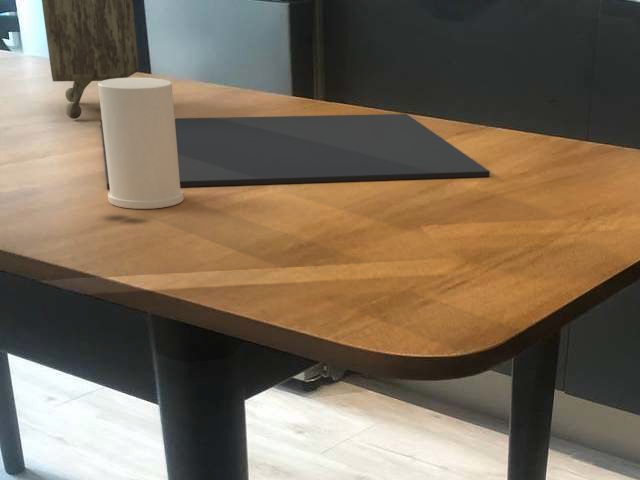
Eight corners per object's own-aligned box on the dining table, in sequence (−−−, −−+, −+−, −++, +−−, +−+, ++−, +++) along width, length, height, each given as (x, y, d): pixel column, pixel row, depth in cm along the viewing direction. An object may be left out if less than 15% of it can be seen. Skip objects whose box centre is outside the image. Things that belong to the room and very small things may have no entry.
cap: (109, 210, 86) (95, 89, 81) (107, 192, 91) (94, 77, 86) (186, 207, 87) (177, 88, 82) (180, 190, 92) (171, 76, 87)
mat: (107, 189, 91) (106, 183, 91) (100, 124, 116) (100, 119, 116) (489, 176, 100) (490, 171, 99) (406, 118, 124) (406, 113, 124)
